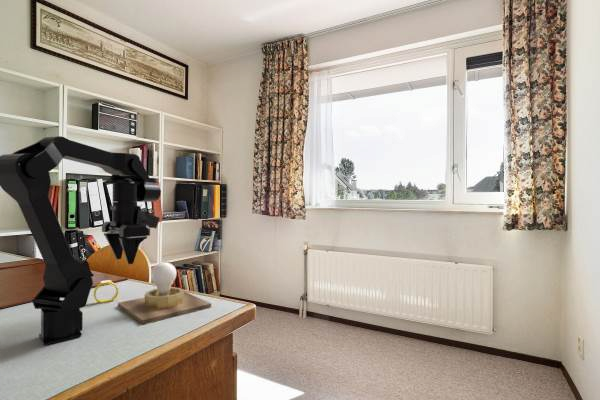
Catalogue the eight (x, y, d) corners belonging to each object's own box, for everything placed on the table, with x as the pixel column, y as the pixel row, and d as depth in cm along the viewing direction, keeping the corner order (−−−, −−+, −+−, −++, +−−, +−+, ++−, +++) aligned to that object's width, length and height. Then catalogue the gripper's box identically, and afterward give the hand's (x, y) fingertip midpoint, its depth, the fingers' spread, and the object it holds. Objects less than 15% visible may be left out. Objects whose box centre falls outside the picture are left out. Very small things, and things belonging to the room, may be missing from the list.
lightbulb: (146, 303, 89) (146, 263, 89) (165, 297, 95) (165, 259, 94) (162, 308, 86) (162, 266, 86) (181, 301, 92) (181, 261, 91)
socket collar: (153, 311, 83) (153, 299, 83) (139, 302, 90) (139, 291, 90) (189, 303, 90) (189, 292, 90) (173, 295, 97) (174, 285, 97)
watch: (94, 305, 91) (93, 284, 91) (94, 303, 93) (92, 282, 93) (119, 300, 95) (117, 280, 94) (117, 298, 97) (116, 278, 97)
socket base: (142, 324, 77) (142, 320, 77) (117, 306, 90) (117, 302, 90) (211, 306, 90) (211, 303, 90) (181, 293, 103) (181, 290, 103)
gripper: (170, 202, 85) (170, 262, 85) (143, 201, 98) (143, 253, 99) (124, 202, 77) (123, 268, 78) (101, 201, 91) (101, 258, 91)
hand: (124, 261), depth 86 cm, fingers open, 9 cm apart
